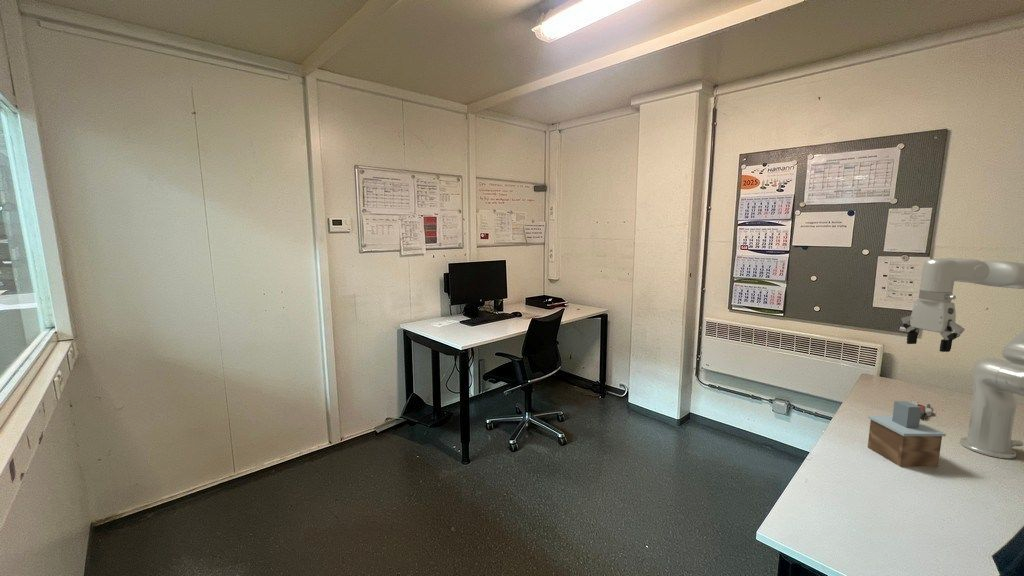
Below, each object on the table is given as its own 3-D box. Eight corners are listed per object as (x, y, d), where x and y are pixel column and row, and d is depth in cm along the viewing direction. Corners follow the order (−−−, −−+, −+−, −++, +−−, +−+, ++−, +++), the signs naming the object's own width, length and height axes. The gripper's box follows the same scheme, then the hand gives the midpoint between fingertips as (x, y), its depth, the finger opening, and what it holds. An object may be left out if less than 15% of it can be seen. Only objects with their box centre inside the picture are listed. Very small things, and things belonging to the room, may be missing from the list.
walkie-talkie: (931, 423, 161) (932, 408, 174) (932, 412, 160) (933, 398, 174) (900, 416, 167) (903, 402, 181) (901, 405, 167) (904, 393, 180)
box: (902, 447, 141) (905, 418, 140) (937, 466, 129) (942, 435, 128) (867, 447, 141) (870, 418, 140) (899, 466, 129) (903, 435, 128)
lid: (905, 420, 141) (908, 396, 140) (945, 439, 128) (948, 412, 127) (867, 420, 141) (870, 396, 140) (903, 439, 128) (906, 412, 127)
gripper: (977, 300, 125) (969, 354, 127) (915, 293, 142) (908, 340, 144) (957, 300, 124) (948, 355, 126) (896, 293, 141) (890, 341, 143)
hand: (927, 347), depth 135 cm, fingers open, 9 cm apart
